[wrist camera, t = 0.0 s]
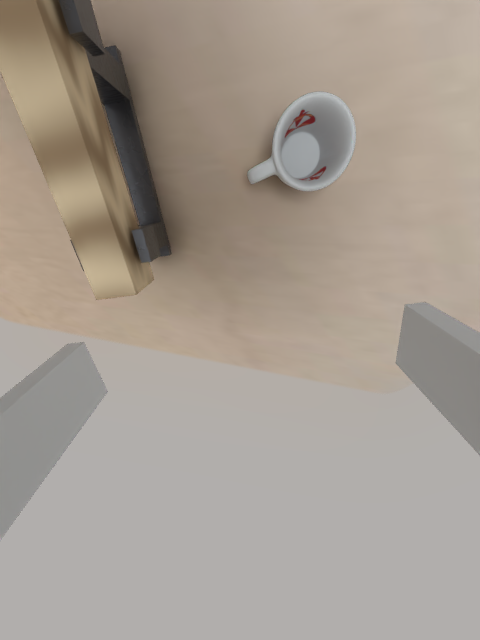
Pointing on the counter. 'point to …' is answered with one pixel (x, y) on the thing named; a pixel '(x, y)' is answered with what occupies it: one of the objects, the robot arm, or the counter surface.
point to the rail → (72, 142)
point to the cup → (310, 143)
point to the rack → (121, 127)
